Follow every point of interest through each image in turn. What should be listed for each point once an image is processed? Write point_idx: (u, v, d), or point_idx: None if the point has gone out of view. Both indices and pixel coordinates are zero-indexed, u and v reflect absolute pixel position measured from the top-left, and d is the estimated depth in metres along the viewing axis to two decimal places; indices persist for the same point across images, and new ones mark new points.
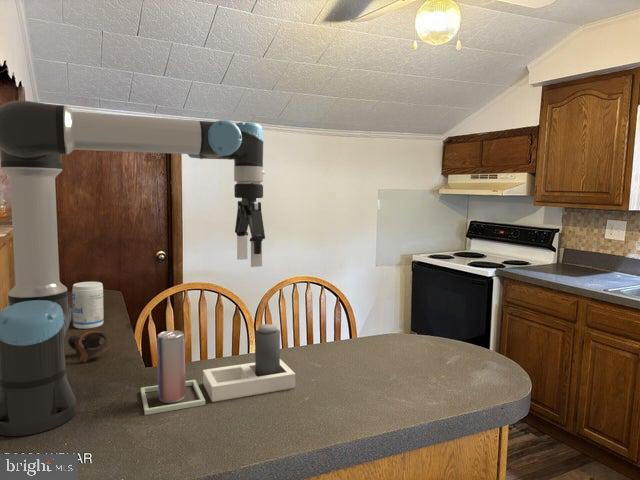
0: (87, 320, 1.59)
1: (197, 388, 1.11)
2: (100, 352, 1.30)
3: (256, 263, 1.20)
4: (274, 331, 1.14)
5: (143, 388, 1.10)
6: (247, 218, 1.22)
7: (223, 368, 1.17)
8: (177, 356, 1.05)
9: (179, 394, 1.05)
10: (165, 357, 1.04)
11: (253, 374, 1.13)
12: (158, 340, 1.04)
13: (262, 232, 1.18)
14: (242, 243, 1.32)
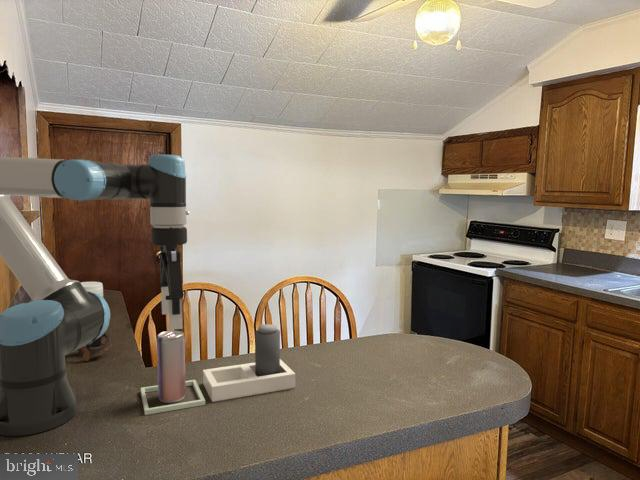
0: None
1: (197, 388, 1.11)
2: (102, 351, 1.31)
3: (175, 325, 0.99)
4: (274, 331, 1.14)
5: (143, 388, 1.10)
6: (165, 270, 1.01)
7: (223, 368, 1.17)
8: (177, 356, 1.05)
9: (179, 394, 1.05)
10: (164, 357, 1.04)
11: (253, 374, 1.13)
12: (158, 340, 1.04)
13: (180, 289, 0.97)
14: (167, 295, 1.11)
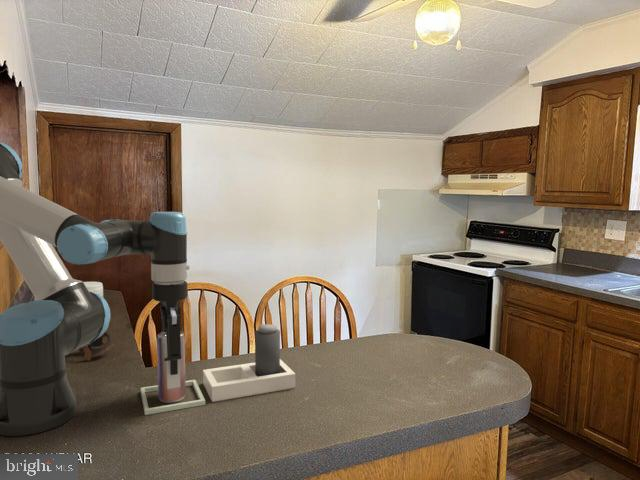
0: None
1: (197, 388, 1.11)
2: (104, 351, 1.31)
3: (173, 384, 1.04)
4: (274, 331, 1.14)
5: (143, 388, 1.10)
6: (165, 328, 1.03)
7: (223, 368, 1.17)
8: None
9: (179, 394, 1.05)
10: (164, 357, 1.04)
11: (253, 374, 1.13)
12: (158, 340, 1.04)
13: (178, 352, 1.01)
14: None
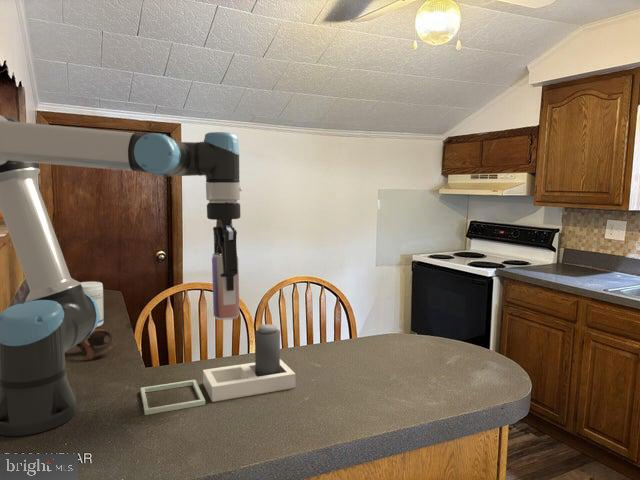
0: None
1: (197, 388, 1.11)
2: (106, 350, 1.32)
3: (229, 301, 1.07)
4: (274, 331, 1.14)
5: (143, 388, 1.10)
6: (220, 246, 1.06)
7: (223, 368, 1.17)
8: None
9: (234, 311, 1.09)
10: (220, 274, 1.07)
11: (253, 374, 1.13)
12: (213, 258, 1.07)
13: (235, 267, 1.04)
14: None
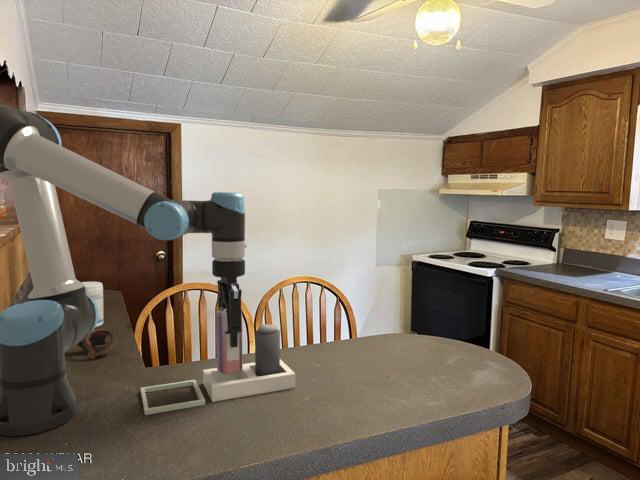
0: None
1: (197, 388, 1.11)
2: (107, 349, 1.33)
3: (232, 356, 1.09)
4: (274, 331, 1.14)
5: (143, 388, 1.10)
6: (225, 303, 1.08)
7: None
8: None
9: (237, 366, 1.11)
10: None
11: (253, 374, 1.13)
12: (218, 314, 1.09)
13: (239, 325, 1.06)
14: None
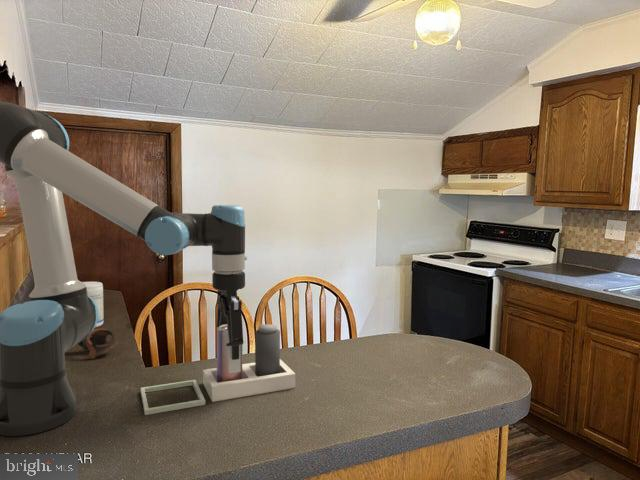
0: None
1: (197, 388, 1.11)
2: (108, 349, 1.33)
3: (234, 369, 1.08)
4: (274, 331, 1.14)
5: (143, 388, 1.10)
6: (225, 315, 1.08)
7: None
8: None
9: None
10: (225, 349, 1.09)
11: (253, 374, 1.13)
12: (219, 332, 1.10)
13: (240, 337, 1.05)
14: None
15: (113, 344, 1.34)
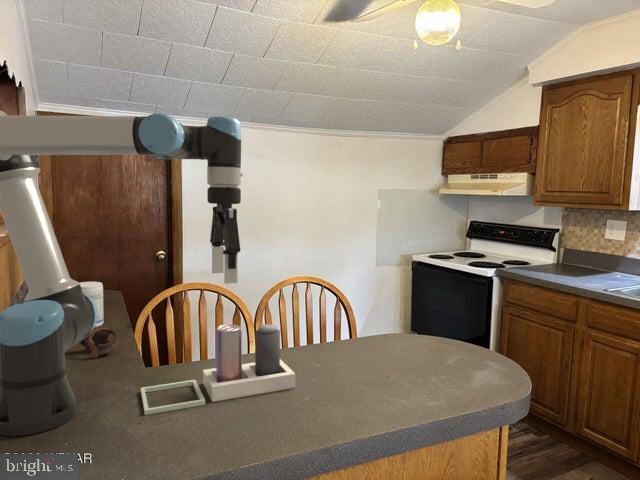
0: None
1: (197, 388, 1.11)
2: (110, 348, 1.34)
3: (230, 279, 1.04)
4: (274, 331, 1.14)
5: (143, 388, 1.10)
6: (221, 227, 1.05)
7: None
8: (236, 348, 1.10)
9: None
10: (224, 350, 1.09)
11: (253, 374, 1.13)
12: (218, 333, 1.10)
13: (237, 244, 1.01)
14: (218, 255, 1.16)
15: (115, 343, 1.35)
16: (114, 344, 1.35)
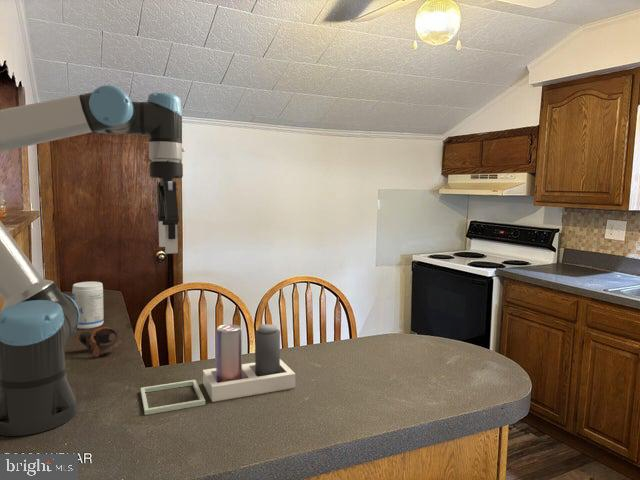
0: (87, 320, 1.59)
1: (197, 388, 1.11)
2: (112, 347, 1.34)
3: (171, 249, 1.08)
4: (274, 331, 1.14)
5: (143, 388, 1.10)
6: (162, 200, 1.09)
7: None
8: (236, 348, 1.10)
9: None
10: (224, 350, 1.09)
11: (253, 374, 1.13)
12: (218, 333, 1.10)
13: (175, 214, 1.05)
14: (164, 229, 1.20)
15: (117, 342, 1.36)
16: (116, 343, 1.35)
